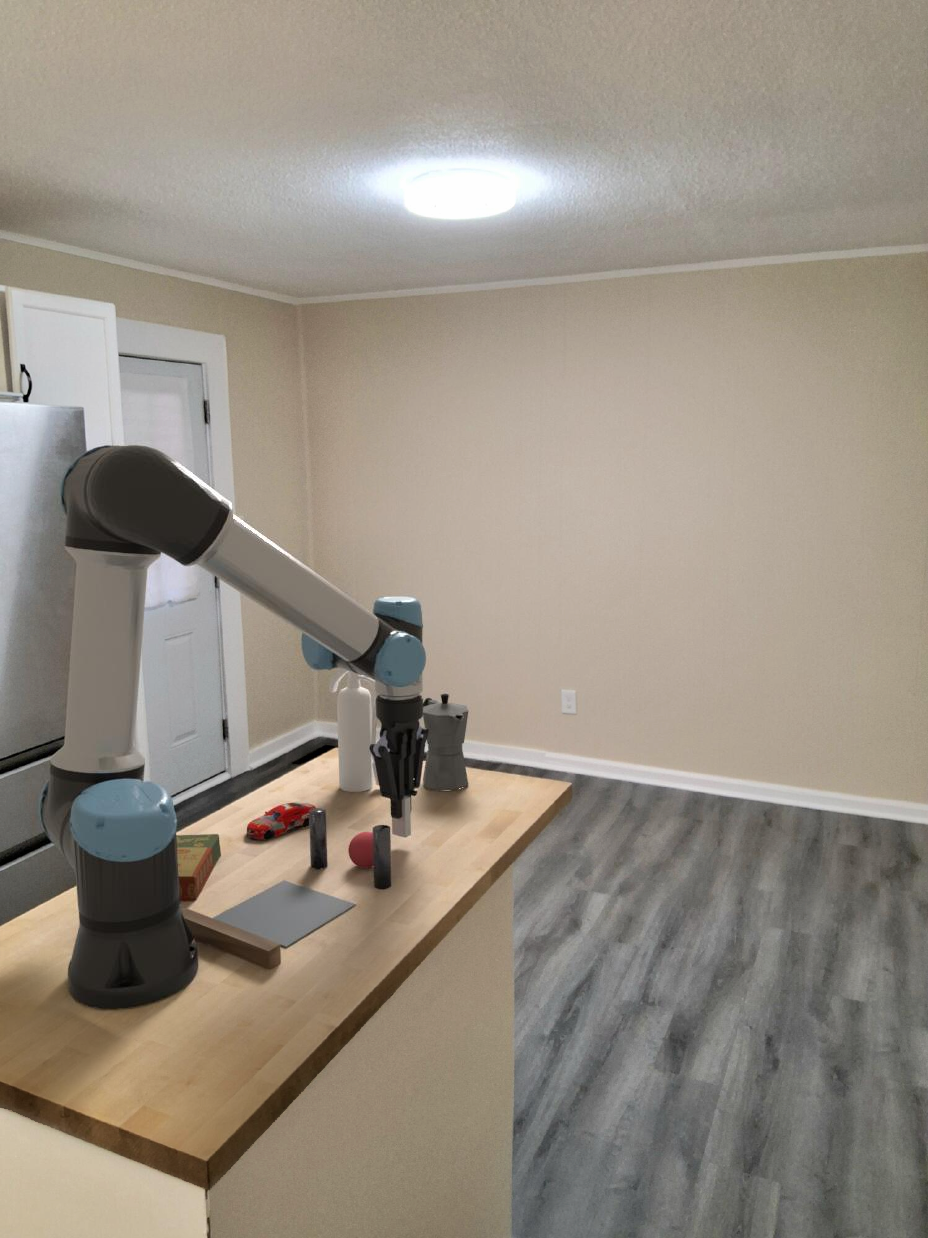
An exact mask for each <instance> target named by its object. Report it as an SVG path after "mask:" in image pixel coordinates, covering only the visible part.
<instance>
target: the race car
mask: <svg viewBox="0 0 928 1238" xmlns="http://www.w3.org/2000/svg"><path fill="white" fill-rule="evenodd" d="M314 808H317V807H316V806H315V805H314V804H311V803H309V802H288V803H282V804H280V805H277V806H274V807H273V808H270V810H268V811H264V814H263V815H261V816H260V817H257V818H255V819H253V820H251V821H250V822H249V823H248V824H247V825H246V836H247V837H249V838H251V839H255V840H264V841H268V840H271V839H274V838H275V837H280V836H282V835H284V834H285V835H286V834H287V833H292V832H295V831H297V830H300V829H303V828H305V829H306V828H308V827H309V810H311V809H314Z"/></svg>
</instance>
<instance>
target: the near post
mask: <svg viewBox="0 0 928 1238" xmlns="http://www.w3.org/2000/svg"><path fill="white" fill-rule="evenodd" d="M372 833H373V867H372V868H373V887H374V888H375V889H376V890H382V891H384V890H388V889H390V888H391V887H392V849H391V848H392V847H391V846H392V845H391V842H392V841H391V840H392V839H391V837H392V835H391V834H392V833H391V826H389V825H386V824H378V825H375V826H373V827H372Z"/></svg>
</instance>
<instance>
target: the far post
mask: <svg viewBox="0 0 928 1238" xmlns="http://www.w3.org/2000/svg"><path fill="white" fill-rule="evenodd" d="M308 827H309V852H310V855H309V856H310V857H309V858H310V868H311V869H313V870H324V869H326V868H327V867H328V866H329V865H328V864H329V862H328V840H327V839H328V837H327V836H328V835H327V834H328V832H327V811H326V809H325V808H323V807H316V808H314V809H311V810H309V826H308Z"/></svg>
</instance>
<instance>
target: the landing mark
mask: <svg viewBox="0 0 928 1238" xmlns="http://www.w3.org/2000/svg"><path fill="white" fill-rule="evenodd" d="M356 904H357V903H354V902H351V901H347V900H345V899H342V898H339V897H335V896H332V895H330V894H327V893H324V892H320V891H318V890H314V889H311V888H308V887H305V886H303V885H299V884H296V883H293V882H291V881H287V880H285V879H284V880H282V881H280V882H278V883H275V884H274V885H272V886H271V887H269V888H267V889H265V890H263V891H261V892H259V893H256V894H255V895H254V896H252V897H250V898H247V899H246V900H244V901H242V902H240V903H238V904H236V905H234V906H233V907H231V908H229V909H226V910H225V911H223V912H221V913H219V914H216V915H215V916H213V917H212V918H213V919H216V920H218V921H221V922H223V923H226V924H229V925H231V926H234V927H236V928H239V929H242V930H244V931H247V932H249V933H252V934H255V935H257V936H260V937H262V938H265V939H268V940H270V941H273V942H276V943H278V944H280V947H283V948H285V949H287V948H288V947H291V946H292V945H293V944H295V943H297V942H298V941H300V940H302V939H303V938H304V937H306V936H308V935H310V934H311V933H313V932H315V931H317V930H318V929H319V928H322V927H323V926H325V925H326V924H328V923H329V922H331V921H333V920H334V919H336V918H338V917H340V916H341V915H343V914H344V913H346V912H348V911H349V910H351V909H352V908H354V907H356V906H357V905H356Z"/></svg>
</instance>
